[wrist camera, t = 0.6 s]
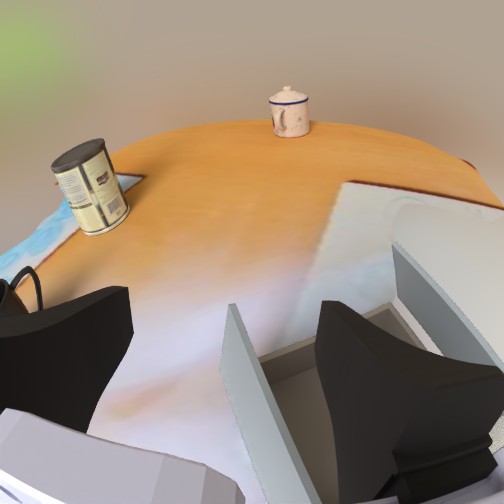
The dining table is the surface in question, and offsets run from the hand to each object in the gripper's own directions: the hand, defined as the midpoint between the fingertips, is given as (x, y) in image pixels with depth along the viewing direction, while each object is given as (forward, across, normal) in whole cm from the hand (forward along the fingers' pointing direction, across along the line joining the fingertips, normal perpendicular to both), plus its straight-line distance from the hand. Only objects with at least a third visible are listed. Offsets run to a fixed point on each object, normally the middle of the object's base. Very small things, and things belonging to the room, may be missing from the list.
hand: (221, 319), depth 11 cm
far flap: (+4, -14, +4) cm, 15 cm away
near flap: (+1, -2, +8) cm, 8 cm away
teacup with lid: (+64, -8, -12) cm, 66 cm away
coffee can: (+41, +27, +6) cm, 49 cm away
